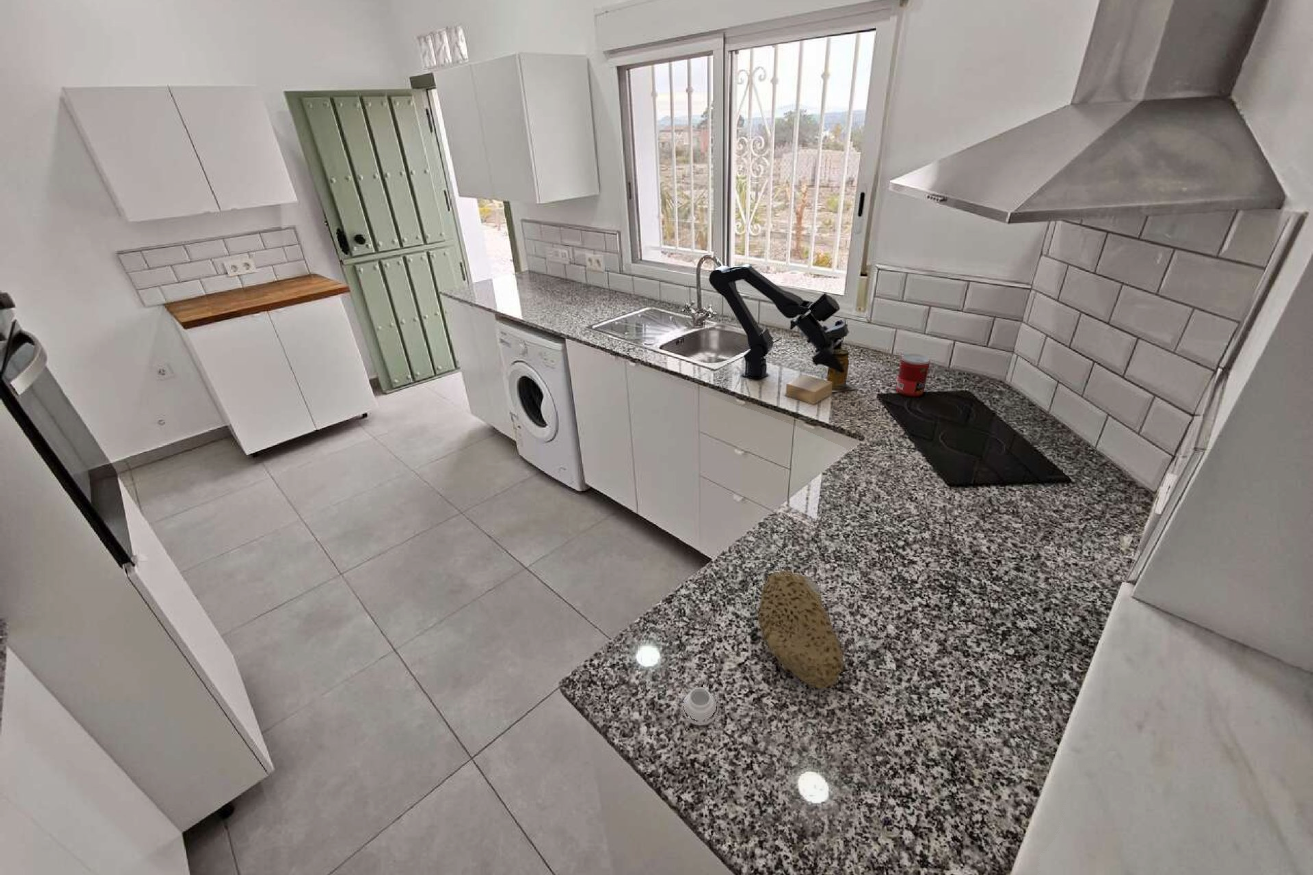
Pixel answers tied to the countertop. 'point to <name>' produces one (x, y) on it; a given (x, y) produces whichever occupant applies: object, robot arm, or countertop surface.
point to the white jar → (699, 706)
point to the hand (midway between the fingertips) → (845, 368)
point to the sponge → (799, 629)
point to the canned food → (913, 374)
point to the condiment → (838, 377)
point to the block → (809, 389)
